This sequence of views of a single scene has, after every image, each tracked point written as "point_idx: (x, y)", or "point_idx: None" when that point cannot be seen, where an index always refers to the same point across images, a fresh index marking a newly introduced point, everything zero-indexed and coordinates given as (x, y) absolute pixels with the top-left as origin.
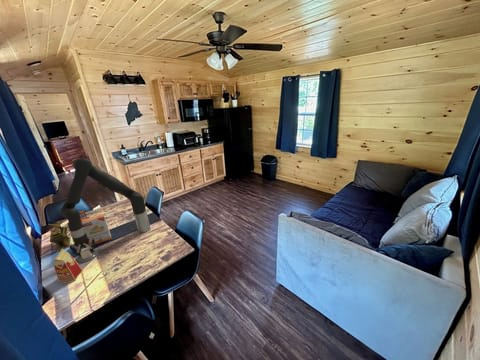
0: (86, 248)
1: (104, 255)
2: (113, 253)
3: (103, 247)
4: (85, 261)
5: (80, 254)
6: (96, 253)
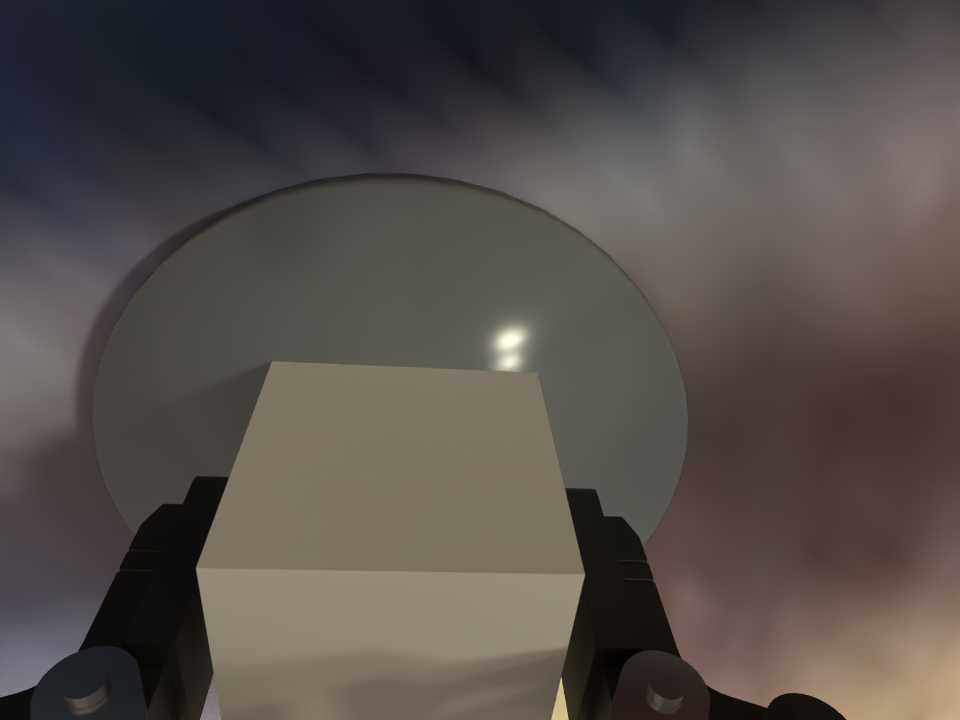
0: (430, 627)
1: (782, 621)
2: (957, 648)
3: (888, 256)
4: None
5: None
6: (643, 506)
